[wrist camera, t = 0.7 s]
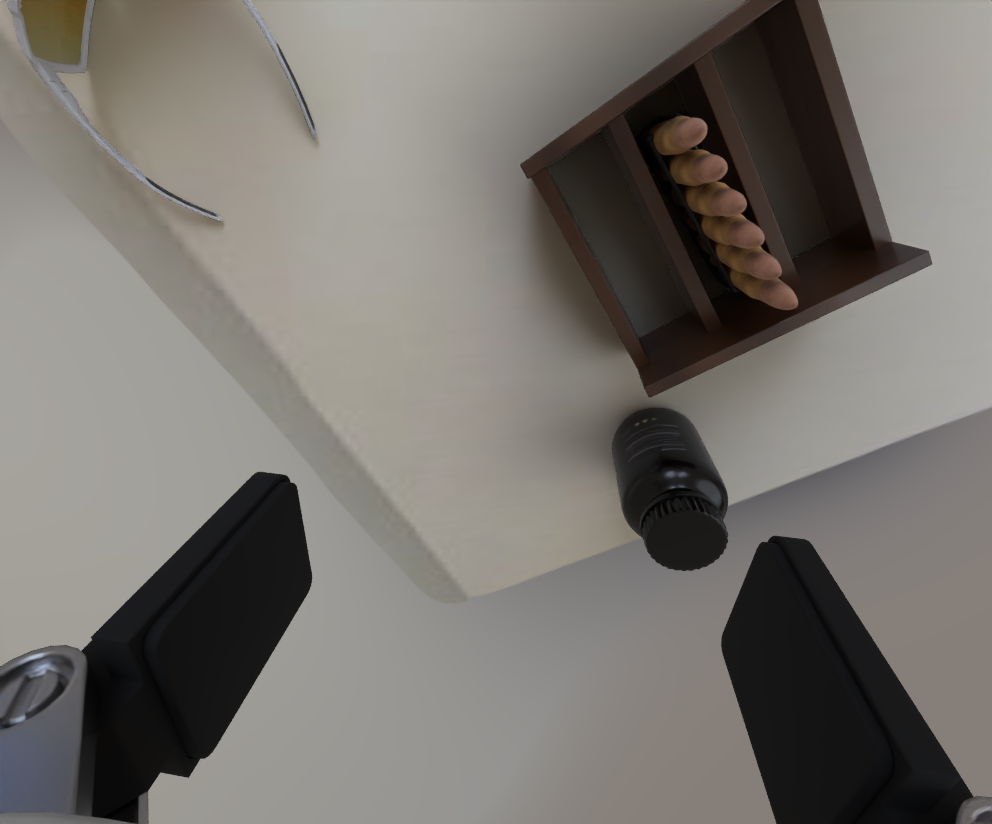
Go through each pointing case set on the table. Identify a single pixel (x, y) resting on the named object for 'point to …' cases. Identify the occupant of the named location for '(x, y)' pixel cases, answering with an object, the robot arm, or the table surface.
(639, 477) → the supplement bottle
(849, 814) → the robot arm
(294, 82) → the sunglasses
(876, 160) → the table surface
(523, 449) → the table surface
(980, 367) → the table surface
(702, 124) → the ammunition clip
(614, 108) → the rack
